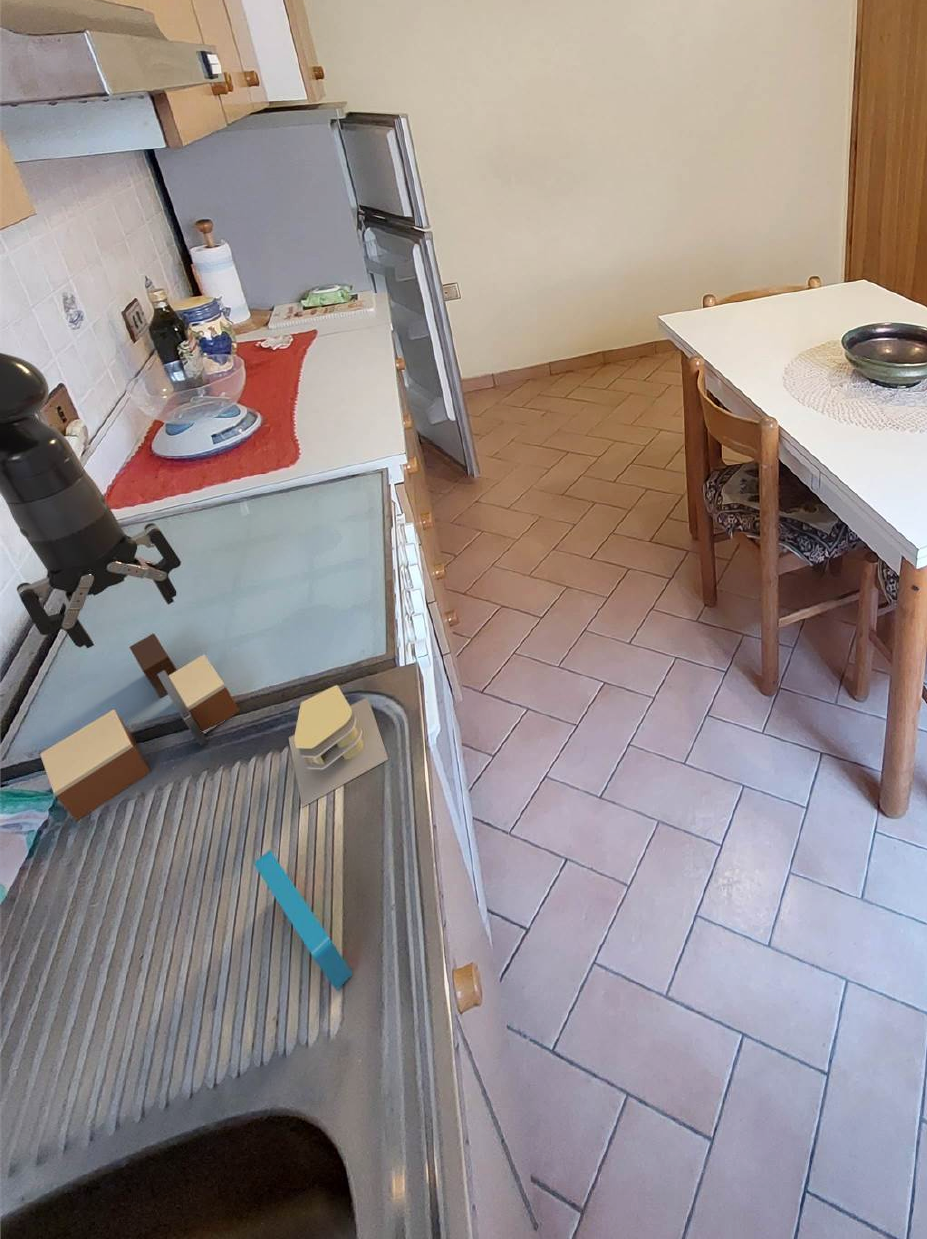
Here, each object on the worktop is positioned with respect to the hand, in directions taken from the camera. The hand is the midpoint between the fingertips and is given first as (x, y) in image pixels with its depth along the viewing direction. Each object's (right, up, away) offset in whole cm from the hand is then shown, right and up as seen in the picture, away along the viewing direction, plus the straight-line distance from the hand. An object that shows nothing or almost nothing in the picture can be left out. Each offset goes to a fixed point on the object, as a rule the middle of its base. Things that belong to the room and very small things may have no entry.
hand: (130, 621), depth 88 cm
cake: (+3, -15, -7) cm, 17 cm away
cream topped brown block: (+10, -11, 0) cm, 14 cm away
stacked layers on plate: (+28, -12, -6) cm, 31 cm away
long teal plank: (+34, -21, -23) cm, 46 cm away
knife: (+5, -10, +2) cm, 11 cm away
